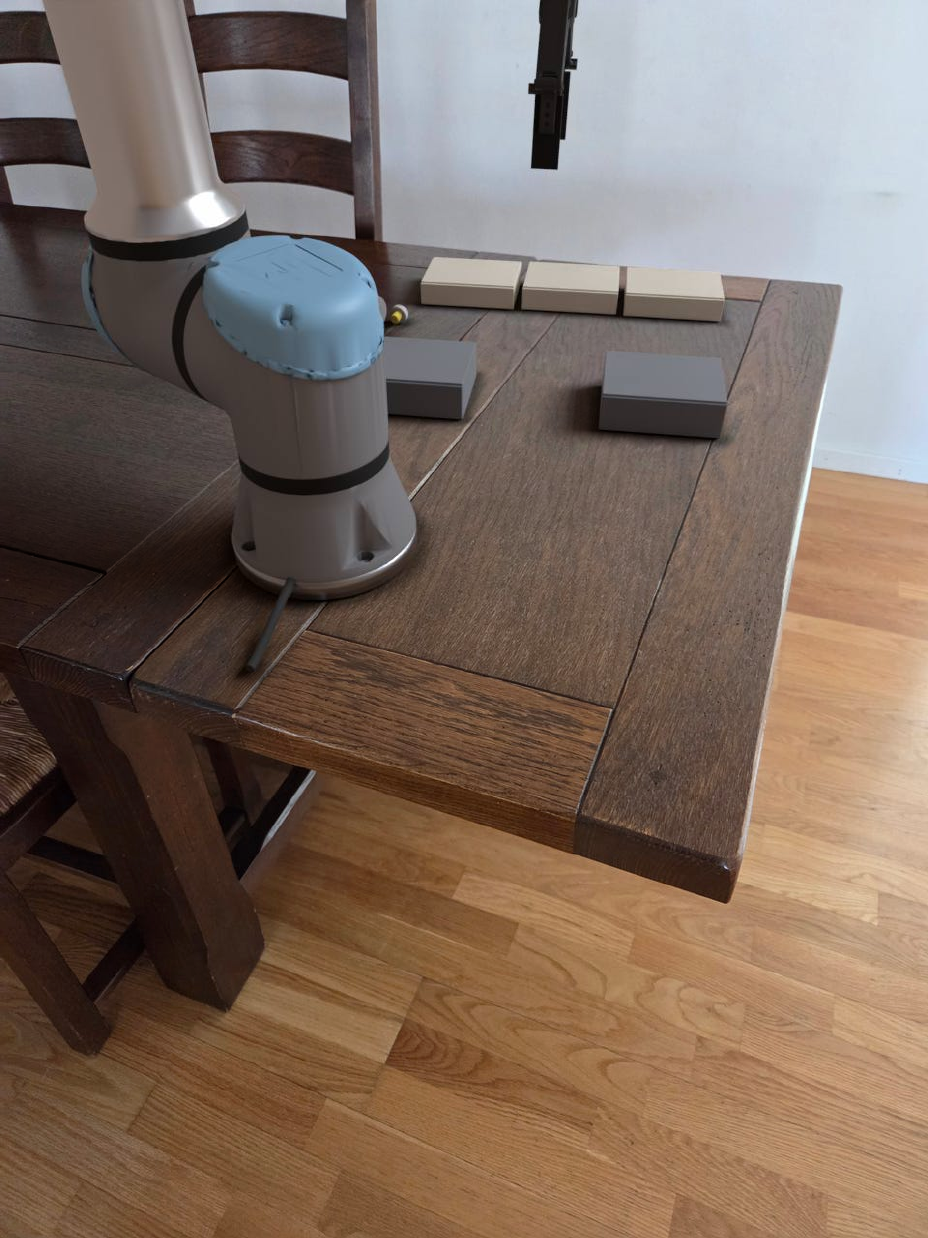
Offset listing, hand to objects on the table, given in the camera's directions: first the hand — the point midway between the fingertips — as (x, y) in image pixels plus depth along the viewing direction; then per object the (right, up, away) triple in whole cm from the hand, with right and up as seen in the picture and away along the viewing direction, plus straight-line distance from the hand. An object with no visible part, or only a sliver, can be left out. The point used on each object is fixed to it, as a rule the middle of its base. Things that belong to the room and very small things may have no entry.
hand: (549, 153), depth 92 cm
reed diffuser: (-26, -11, +18) cm, 33 cm away
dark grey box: (+11, -28, -2) cm, 30 cm away
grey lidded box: (-14, -25, +1) cm, 29 cm away
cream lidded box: (+18, -9, +19) cm, 28 cm away
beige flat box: (+5, -8, +21) cm, 23 cm away
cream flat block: (-8, -7, +22) cm, 24 cm away
